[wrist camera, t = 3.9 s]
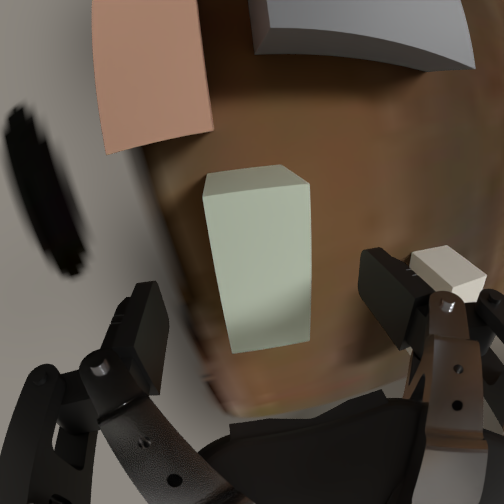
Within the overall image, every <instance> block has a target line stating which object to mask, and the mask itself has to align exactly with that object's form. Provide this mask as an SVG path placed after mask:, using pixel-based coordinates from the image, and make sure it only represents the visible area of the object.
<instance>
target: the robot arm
mask: <svg viewBox="0 0 504 504" xmlns="http://www.w3.org/2000/svg"><path fill="white" fill-rule="evenodd" d="M358 291H359V294H360V297H361V298H362V300H363V301H364V302H365V304H366V305H367V306H368V308H369V309H370V310H371V312H372V313H373V315H374V316H375V317H376V319H377V320H378V321H379V323H380V324H381V326H382V327H383V328H384V330H385V331H386V332H387V334H388V335H389V337H390V338H391V340H392V341H393V342H394V344H395V345H396V347H397V348H398V350H399V351H400V350H403V349H406V348H409V347H411V348H412V349H413V350H412V353H411V356H410V362H409V368H408V374H407V380H406V385H405V391H404V395H403V398H386V396H385V395H384V393H383V391H382V389H381V390H378V391H375V392H372V393H369V394H366V395H363V396H360V397H357V398H354V399H350V400H348V401H346V402H344V403H342V404H340V405H338V406H337V407H335V408H333V409H331V410H329V411H327V412H325V413H323V414H321V415H320V416H317V417H315V418H312V419H263V420H257V421H250V422H243V423H236V424H235V423H234V424H229V427H230V435H227V436H225V437H222V438H220V439H217V440H215V441H213V442H212V443H210V444H208V445H207V446H205V447H204V448H202V449H201V450H200V451H199V452H198V453H197V452H196V451H195V450H194V449H193V448H192V447H191V446H190V444H189V443H188V442H187V441H186V440H185V439H184V438H183V437H182V436H181V435H180V434H179V432H178V431H177V430H176V429H175V428H174V427H173V426H172V424H171V423H170V422H169V421H168V420H167V419H166V417H165V416H164V415H163V414H162V412H161V411H160V410H159V409H158V407H157V406H156V405H155V404H154V403H153V401H152V400H151V399H150V397H149V395H160V389H161V381H162V373H163V366H164V358H165V352H166V345H167V338H168V333H169V318H168V314H167V311H166V308H165V305H164V302H163V299H162V295H161V292H160V289H159V286H158V284H157V282H156V281H149V282H142V283H137V284H136V286H135V288H134V290H133V293H132V295H131V297H126V298H125V299H124V300H123V301H122V302H121V303H120V304H119V305H118V307H117V309H116V311H115V314H114V317H113V318H112V321H111V324H110V326H109V328H108V331H107V333H106V336H105V338H104V340H103V343H102V346H101V348H100V349H99V350H96V351H93V352H92V353H90V354H88V355H87V356H86V357H85V358H84V359H83V360H82V362H81V364H80V366H79V370H75V371H72V372H68V373H64V374H60V373H59V371H58V370H57V368H56V367H55V366H54V365H51V364H43V365H40V366H38V367H36V368H35V369H34V370H32V371H31V373H30V374H29V375H28V377H27V379H26V382H25V384H24V386H23V389H22V391H21V394H20V397H19V399H18V402H17V405H16V407H15V410H14V412H13V415H12V418H11V421H10V424H9V427H8V430H7V433H6V437H5V440H4V444H3V447H2V451H1V455H0V504H90V502H91V486H92V474H93V464H94V455H95V447H96V440H97V434H98V430H101V431H102V433H103V435H104V437H105V438H106V440H107V442H108V444H109V446H110V447H111V449H112V451H113V452H114V454H115V456H116V458H117V459H118V461H119V462H120V464H121V465H122V467H123V469H124V470H125V472H126V473H127V475H128V476H129V478H130V479H131V481H132V482H133V484H134V485H135V486H136V488H137V489H138V491H139V492H140V493H141V495H142V496H143V497H144V499H145V500H146V501H147V503H148V504H504V434H503V435H500V434H497V433H494V432H491V431H489V430H486V429H483V396H484V398H485V400H486V401H487V403H488V404H489V406H490V408H491V409H492V411H493V412H494V414H495V416H496V418H497V420H498V421H499V423H500V425H501V426H502V428H503V433H504V365H503V364H502V362H501V361H500V360H499V358H498V357H497V356H496V354H495V353H494V352H493V351H492V349H491V348H490V345H491V344H492V342H493V340H494V338H495V336H496V335H497V337H498V338H499V339H500V340H501V341H502V342H503V344H504V295H503V294H501V293H500V292H498V291H496V290H493V289H484V290H482V291H481V292H480V293H479V296H478V299H477V302H467V303H464V301H463V300H462V299H461V298H460V297H459V296H458V295H456V294H454V293H452V292H449V291H435V290H434V289H433V288H432V287H430V286H429V285H428V284H427V283H426V282H425V281H424V280H423V279H422V278H421V277H420V276H418V275H417V274H416V273H415V272H414V271H413V270H411V268H410V267H408V266H407V265H406V264H405V263H404V262H402V261H400V260H398V259H396V258H394V257H391V256H390V255H389V254H388V253H387V252H386V251H385V250H383V249H382V248H380V247H378V248H372V249H366V250H363V251H362V253H361V257H360V268H359V278H358ZM56 423H57V424H58V425H59V426H60V427H59V432H58V436H57V441H56V445H55V450H53V447H52V438H53V434H54V429H55V425H56Z"/></svg>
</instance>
